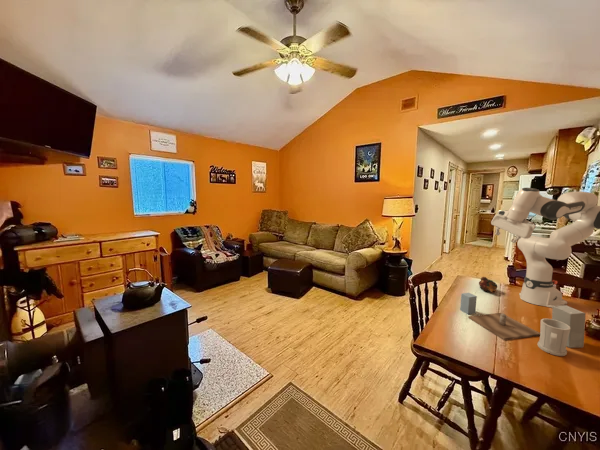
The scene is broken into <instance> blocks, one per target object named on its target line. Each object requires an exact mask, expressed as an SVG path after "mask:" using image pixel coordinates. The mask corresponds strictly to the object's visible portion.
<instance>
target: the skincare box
mask: <svg viewBox="0 0 600 450" xmlns="http://www.w3.org/2000/svg"><path fill="white" fill-rule="evenodd" d="M551 316H552V317H551V319H553V320H557V321H560V322H563V323H565V324H567V325H568V326H570V328H571V329H570V332H569V336H568V340H567V345H566V348H571V349H572V348H573V349H574V348H584V345H585V344H584V343H585V328H586V327H585V326H586V313H585V312H583V311H580V310H579V309H576V308H573V307H572V306H568V305H567V304H565V305H561V306H553V308H552V312H551Z"/></svg>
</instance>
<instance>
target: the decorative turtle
mask: <svg viewBox="0 0 600 450" xmlns="http://www.w3.org/2000/svg"><path fill="white" fill-rule="evenodd" d="M478 285H479V289H481V290H482V291H483V292H484V293H486V292H488V291H489V292H490V293H492V294H495V293H496V292H497V289H498V284H497V283H496V282H495V281H493V280H491V279H488V278H487V277H486V276H482V277H480V280H479V282H478Z"/></svg>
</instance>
